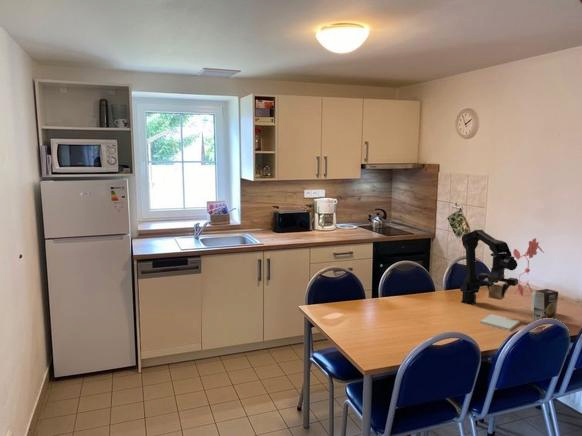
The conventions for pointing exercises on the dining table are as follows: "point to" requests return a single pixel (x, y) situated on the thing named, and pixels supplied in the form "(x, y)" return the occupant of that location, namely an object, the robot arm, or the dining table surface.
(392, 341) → the dining table surface
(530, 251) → the red branching piece
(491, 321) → the plate
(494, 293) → the cube
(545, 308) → the coffee box
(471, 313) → the dining table surface
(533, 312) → the small box
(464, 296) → the robot arm
